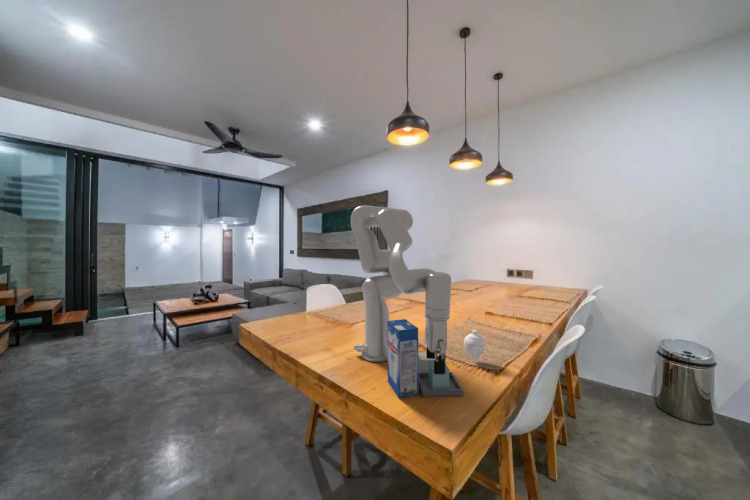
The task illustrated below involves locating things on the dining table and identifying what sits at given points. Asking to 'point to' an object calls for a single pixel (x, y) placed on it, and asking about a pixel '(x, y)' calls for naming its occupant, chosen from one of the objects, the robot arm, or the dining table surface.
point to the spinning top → (474, 344)
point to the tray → (453, 390)
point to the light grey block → (423, 362)
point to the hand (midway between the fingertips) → (435, 365)
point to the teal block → (438, 378)
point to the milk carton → (403, 358)
